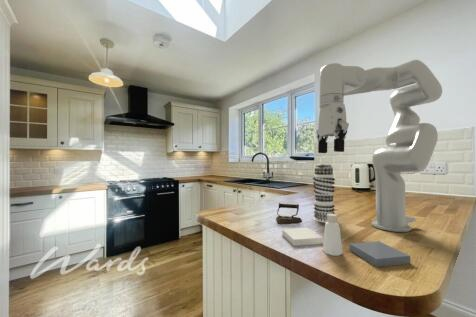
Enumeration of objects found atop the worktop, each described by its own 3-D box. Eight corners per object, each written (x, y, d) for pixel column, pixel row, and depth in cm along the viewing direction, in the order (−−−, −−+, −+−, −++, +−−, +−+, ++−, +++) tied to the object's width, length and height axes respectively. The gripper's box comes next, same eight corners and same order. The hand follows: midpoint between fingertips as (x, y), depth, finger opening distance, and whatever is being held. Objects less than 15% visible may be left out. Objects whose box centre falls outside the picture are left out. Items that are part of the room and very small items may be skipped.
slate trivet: (378, 247, 65) (378, 241, 65) (410, 263, 55) (410, 255, 55) (349, 250, 63) (349, 243, 63) (376, 267, 54) (376, 259, 54)
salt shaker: (333, 246, 66) (332, 211, 66) (347, 254, 61) (346, 216, 61) (318, 249, 64) (318, 213, 64) (331, 257, 59) (331, 217, 59)
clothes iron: (274, 220, 97) (278, 198, 98) (298, 226, 96) (303, 204, 97) (276, 223, 90) (281, 200, 91) (302, 230, 89) (307, 206, 90)
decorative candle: (318, 223, 90) (317, 164, 90) (310, 217, 99) (309, 164, 99) (339, 223, 90) (338, 164, 90) (329, 217, 99) (329, 163, 99)
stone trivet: (308, 233, 78) (308, 227, 78) (323, 243, 69) (323, 237, 69) (282, 234, 77) (282, 229, 77) (293, 246, 67) (293, 239, 67)
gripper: (359, 95, 64) (358, 151, 64) (327, 109, 81) (326, 153, 81) (336, 93, 63) (334, 150, 63) (309, 108, 80) (308, 153, 80)
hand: (330, 152), depth 72 cm, fingers open, 9 cm apart
